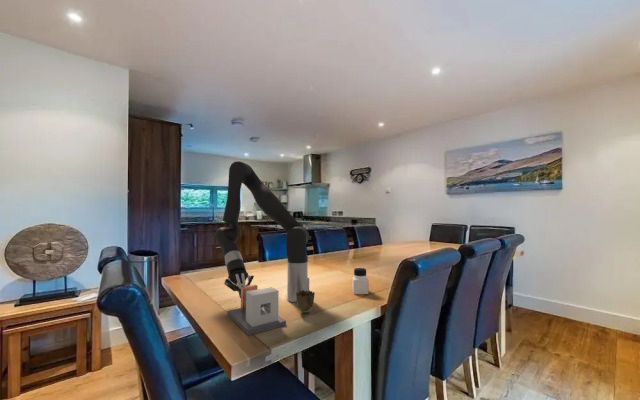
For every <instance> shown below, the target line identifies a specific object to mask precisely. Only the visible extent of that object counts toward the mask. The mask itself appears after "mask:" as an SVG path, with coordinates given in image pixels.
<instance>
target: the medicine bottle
mask: <svg viewBox="0 0 640 400" xmlns="http://www.w3.org/2000/svg"><path fill="white" fill-rule="evenodd" d="M367 277H368V276H367V269H366V268H365V267H355V268H354V270H353V276H352V277H351V280H352V281H351V282H352V287H351V289H352V290H351V291H352V293H353V295H356V294H368V295H369V279H368V278H367Z"/></svg>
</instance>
